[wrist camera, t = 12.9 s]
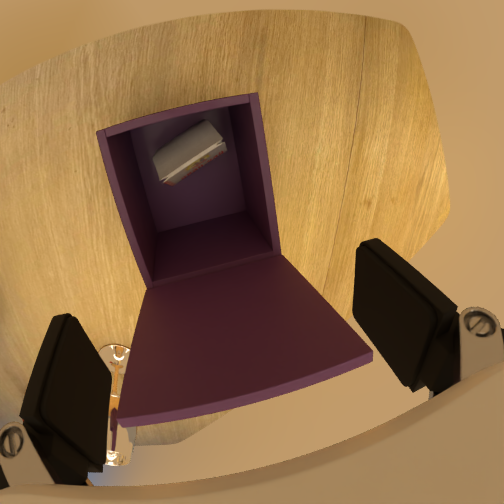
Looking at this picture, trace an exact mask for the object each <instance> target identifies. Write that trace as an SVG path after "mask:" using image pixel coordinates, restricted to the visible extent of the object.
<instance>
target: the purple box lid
mask: <svg viewBox="0 0 504 504" xmlns="http://www.w3.org/2000/svg"><path fill="white" fill-rule="evenodd" d="M372 361H373V350H372V349H371V348H370V347H369V346H368V345H367V344H366V343H365V342H364V341H363V339H361V337H360V336H359V335H358V334H357V333H356V332H355V331H354V330H353V329H352V328H351V327H350V326H349V324H348V323H347V322H346V321H345V320H344V319H343V318H342V317H341V316H340V315H339V314H338V313H337V312H336V310H335V309H334V308H333V307H332V306H331V305H330V304H329V303H328V302H327V301H326V300H325V299H324V298H323V297H322V296H321V295H320V294H319V292H318V291H317V290H316V289H315V288H314V287H313V286H312V285H311V284H310V283H309V282H308V281H307V280H306V279H305V278H304V277H303V276H302V275H301V274H300V272H299V271H298V270H297V269H296V268H295V267H294V266H293V265H292V264H291V263H290V262H289V261H288V260H287V259H286V258H285V257H284V256H283V255H279V256H276V257H272V258H268V259H264V260H260V261H256V262H253V263H249V264H245V265H241V266H237V267H233V268H230V269H226V270H222V271H218V272H214V273H210V274H206V275H202V276H198V277H195V278H191V279H187V280H183V281H179V282H175V283H171V284H167V285H163V286H159V287H155V288H151V289H147V290H146V292H145V295H144V299H143V303H142V306H141V310H140V314H139V317H138V321H137V325H136V329H135V333H134V337H133V341H132V345H131V349H130V353H129V357H128V362H127V366H126V370H125V375H124V380H123V384H122V389H121V394H120V399H119V404H118V410H117V415H116V420H117V422H118V423H119V424H120V426H121V427H122V428H127V427H136V426H144V425H151V424H158V423H164V422H170V421H176V420H182V419H187V418H192V417H197V416H202V415H207V414H212V413H216V412H220V411H225V410H229V409H233V408H237V407H241V406H245V405H248V404H252V403H256V402H259V401H263V400H267V399H270V398H273V397H277V396H280V395H283V394H286V393H290V392H293V391H296V390H299V389H302V388H305V387H308V386H311V385H313V384H316V383H319V382H322V381H325V380H327V379H330V378H333V377H335V376H338V375H341V374H343V373H346V372H348V371H351V370H353V369H355V368H358V367H361V366H363V365H365V364H367V363H370V362H372Z"/></svg>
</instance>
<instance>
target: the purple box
mask: <svg viewBox="0 0 504 504" xmlns="http://www.w3.org/2000/svg"><path fill="white" fill-rule="evenodd" d="M203 119H205V120H208V121H209V122H210V123H211V124H212V126H213V127H214V128H215V129H216V131H217V132H218V133H219V134H220V136H221V137H222V138H223V139H222V140H221V141H222V142H225V145H226V148H227V151H226V152H224V153H222V154H221V155H219V156H218V157H216V158H214V159H213V160H211V161H210V162H208V163H207V164H205V165H204V166H202V167H201V168H199V169H198V170H196V171H194V172H193V173H191V174H190V175H189V176H187V177H186V178H184V179H183V180H181V181H180V182H178V183H177V184H175V185H174V186H170V185H168V184H165V183H163V182H164V180H165V179H166V178H165V179H162V180H159V176H158V173H157V170H156V167H155V164H154V161H153V156H154V155H155V153H156V151H157V150H158V149H160V148H161V147H162V146H164V145H165V144H167V143H168V142H170V141H171V140H173V139H174V138H176V137H177V136H179V135H180V134H182V133H183V132H185V131H186V130H188V129H189V128H191V127H192V126H194V125H195V124H197V123H199V122H200V121H202V120H203ZM96 135H97V139H98V143H99V147H100V151H101V154H102V158H103V162H104V165H105V169H106V172H107V176H108V179H109V183H110V186H111V189H112V193H113V196H114V199H115V202H116V205H117V209H118V212H119V215H120V218H121V221H122V224H123V227H124V229H125V232H126V235H127V238H128V241H129V244H130V246H131V249H132V252H133V254H134V257H135V260H136V262H137V265H138V268H139V270H140V273H141V275H142V278H143V280H144V283H145V285H146V288H147V289H151V288H155V287H159V286H163V285H167V284H171V283H175V282H179V281H183V280H187V279H191V278H195V277H198V276H202V275H206V274H210V273H214V272H218V271H222V270H226V269H230V268H233V267H237V266H241V265H245V264H249V263H253V262H256V261H260V260H264V259H268V258H272V257H276V256H279V255H281V247H280V239H279V231H278V224H277V216H276V209H275V202H274V195H273V187H272V180H271V174H270V167H269V160H268V153H267V147H266V140H265V134H264V127H263V121H262V115H261V108H260V102H259V96H258V92H257V93H250V94H243V95H237V96H231V97H225V98H220V99H214V100H209V101H204V102H199V103H195V104H190V105H186V106H182V107H177V108H173V109H169V110H165V111H161V112H158V113H154V114H150V115H147V116H143V117H140V118H136V119H133V120H130V121H126V122H123V123H120V124H117V125H114V126H111V127H108V128H105V129H102V130H99V131H97V132H96Z"/></svg>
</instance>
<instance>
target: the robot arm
mask: <svg viewBox="0 0 504 504" xmlns="http://www.w3.org/2000/svg"><path fill="white" fill-rule="evenodd" d="M457 307H458V306H457V305H456V304H454V303H453V302H452V301H451V300H450V299H449V298H448V297H447V296H446V295H445V294H443V293H442V292H441V291H440V290H439V289H438V288H437V287H436V286H434V285H433V284H432V283H431V282H430V281H429V280H428V279H427V278H425V277H424V276H423V275H422V274H421V273H420V272H419V271H417V270H416V269H415V268H414V267H413V266H411V265H410V264H409V263H408V262H407V261H405V260H404V259H403V258H402V257H401V256H399V255H398V254H397V253H396V252H395V251H393V250H392V249H391V248H390V247H388V246H387V245H386V244H385V243H383V242H382V241H381V240H380V239H378V238H374V239H370V240H367V241H363V242H361V243H360V246H359V247H358V248H357V249H356V260H355V279H354V294H353V307H352V312H353V316H354V318H355V319H356V321H357V323H358V324H359V325H360V327H361V328H362V329H363V331H364V332H365V333H366V335H367V336H368V337H369V339H370V340H371V341H372V343H373V344H374V346H375V347H376V348H377V350H378V351H379V352H380V354H381V355H382V357H383V358H384V359H385V361H386V362H387V363H388V365H389V366H390V368H391V369H392V370H393V372H394V373H395V375H396V376H397V377H398V379H399V380H400V381H401V383H402V384H403V385H404V386H405V387H407V386H408V387H409V388H410V389H411V391H412V392H415V391H417V390H419V389H421V388H423V387H424V386H427V388H428V389H429V390H430V392H429V400H428V401H426V402H424V403H422V404H420V405H419V406H417V407H415V408H413V409H411V410H409V411H407V412H406V413H404V414H402V415H400V416H398V417H396V418H394V419H392V420H390V421H388V422H386V423H384V424H381V425H379V426H377V427H375V428H373V429H370V430H368V431H366V432H364V433H361V434H359V435H357V436H355V437H352V438H349V439H347V440H344V441H342V442H340V443H337V444H334V445H332V446H329V447H326V448H324V449H321V450H318V451H315V452H312V453H309V454H306V455H303V456H300V457H297V458H294V459H291V460H287V461H283V462H280V463H277V464H273V465H269V466H266V467H261V468H257V469H253V470H249V471H244V472H240V473H235V474H230V475H225V476H219V477H214V478H208V479H201V480H195V481H187V482H179V483H169V484H159V485H144V486H94V485H93V484H92V483H91V481H90V480H89V479H88V478H87V476H88V472H101V473H102V472H103V464H105V463H106V459H107V433H108V417H109V405H110V394H111V384H112V376H111V372H110V370H109V369H108V367H107V366H106V364H105V363H104V361H103V360H102V358H101V357H100V355H99V354H98V352H97V350H96V349H95V347H94V346H93V344H92V343H91V341H90V339H89V338H88V336H87V334H86V333H85V331H84V329H83V328H82V326H81V324H80V323H79V321H78V319H77V318H76V317H74V316H73V317H72V315H71V314H69V313H66V314H61V315H57V316H54V317H53V318H52V320H51V323H50V325H49V328H48V330H47V333H46V335H45V338H44V340H43V343H42V345H41V348H40V351H39V354H38V356H37V359H36V362H35V365H34V368H33V371H32V374H31V377H30V380H29V383H28V387H27V390H26V393H25V397H24V400H23V404H22V407H21V411H20V415H19V416H20V417H21V418H22V419H23V420H24V421H23V425H22V424H20V423H19V422H10V423H8V424H6V425H4V426H3V427H2V428H1V429H0V504H504V329H502V328H501V327H500V323H499V321H498V319H497V318H496V316H495V315H493V314H492V313H491V312H490V311H488V310H486V309H484V308H480V307H470V308H466V309H465V310H463V311H462V312H461V314H459V313H458V312H456V310H457Z"/></svg>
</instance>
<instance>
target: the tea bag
mask: <svg viewBox="0 0 504 504" xmlns="http://www.w3.org/2000/svg"><path fill="white" fill-rule="evenodd" d="M222 139H223V138H222V137H221V136H220V134H219V133H218V132H217V131H216V129H215V128H214V127H213V126H212V124H211V123H210V122H209V121H208V120H205V119H203V120H202V121H200V122H199V123H197V124H195V125H194V126H192V127H191V128H189V129H188V130H186V131H185V132H183V133H182V134H180V135H179V136H177V137H176V138H174V139H173V140H171V141H170V142H168V143H167V144H165V145H164V146H162V147H161V148H160V149H158V150H157V151H156V153H155V155H154V156H153V161H154V164H155V167H156V170H157V173H158V176H159V180H162V179H165V178H166V179H165V180H164V182H163V183H165V184H168V185H170V186H174V185H175V184H177V183H178V182H180V181H181V180H183V179H184V178H186V177H187V176H189V175H190V174H191V173H193V172H194V171H196V170H198V169H199V168H201V167H202V166H204V165H205V164H207V163H208V162H210V161H211V160H213V159H214V158H216V157H218V156H219V155H221V154H222V153H224V152H226V151H227V148H226V145H225V142H222V141H221V140H222Z"/></svg>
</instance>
